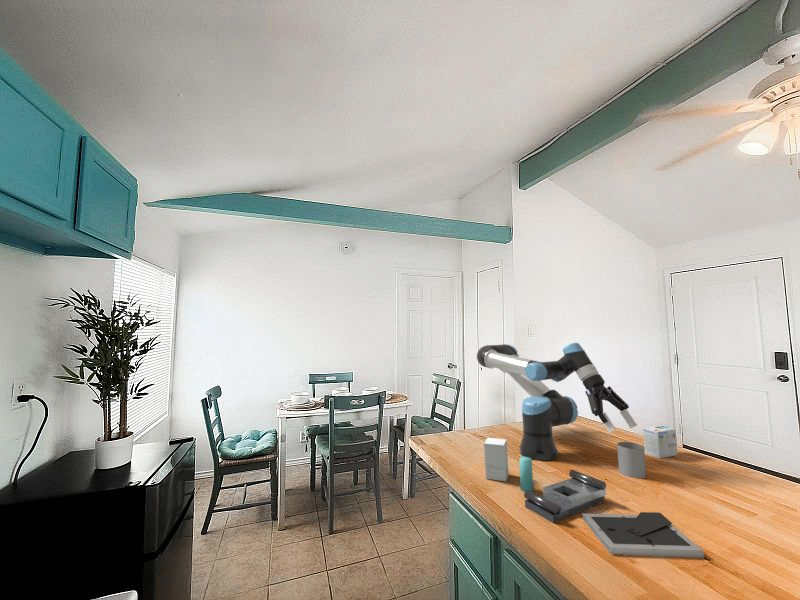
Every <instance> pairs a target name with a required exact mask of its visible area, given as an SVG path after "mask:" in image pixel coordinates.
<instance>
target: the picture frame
mask: <svg viewBox="0 0 800 600" xmlns="http://www.w3.org/2000/svg"><path fill="white" fill-rule="evenodd" d="M581 516H582V520H583V521H584V523H585V524H586V526H587V527H589V529H590V530H591V532H592V533H593V534H594V535H595V537H596V538H597V539H598V541H599V542H600V544H602V545H603V547H604V548H605V549H606V550H607V552H608V551H609V552H608V553H609V554H610V555H611V554H624V555H623V556H637V555H646V556H645V557H666V558H667V557H668V558H669V557H670V558H671V557H672V558H673V557H674V558H699V559H700V558H703V559H705V552H704V551H705V550H704V549H703V548H701V547H700V546H699V545H698V544H696V543H695V542H694V541H693V540H691V539H690V538H689V537H687V535H685V534H684V533H682V532H681V531H680V530H679V529H678V528H677V527H675V526H674V525H673V522H672V521H671V520H670V519H668V518H667V517H666V516H665V515H664V514H662V513H661V512H658V511H657V512H652V511H651V512H650V511H649V512H647V511H644V512H643V511H641V512H639V514H622V513H621V514H620V513H619V514H617V513H616V514H614V513H612V514H611V513H582V515H581Z"/></svg>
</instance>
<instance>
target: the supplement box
mask: <svg viewBox="0 0 800 600" xmlns="http://www.w3.org/2000/svg"><path fill="white" fill-rule="evenodd" d="M507 441H508V439H503V438H496V437H487V438H486V440H485V441H484V443H483V449H484V451H483V452H484V453H483V454H484V472H485V479H486V480H491V481H493V480H494V481H499V482H507V479H508V477H509V460H508V442H507Z"/></svg>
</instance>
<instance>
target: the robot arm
mask: <svg viewBox="0 0 800 600" xmlns="http://www.w3.org/2000/svg"><path fill="white" fill-rule="evenodd" d="M562 352H563V355H562V356H561V357H560V358H559V359H558V360H553V361H551V360H550V361H537V360H533V359H528V358H525V357H524V358H523V357H520V355H519V354H518V350H517V348H515V347H514V346H513V345H511V344H504V343H503V344H491V345H490V344H489V345H488V344H487V345H484V346H481V347H480V348H479V349H478V350H477V353H476V360H477V362H478V364H479V365H480V366H482V367H483V368H486V369H494V368H495V369H498V370H500V371H501V372H502V373H507V374H508V375H509V376H510V377H511V378H512V379H513V380H514V381H515V382H516V383H517V384H518V385H519V386H520V387H521V388H522V389H523V390H524V391H525V392H526V393H527V394H528V395H529V397H526V398H525V399H523V401H522V403H521V404H522V405H521V412H522V414H521V415H522V431H523V432H522V433H523V435H522V439H521V443H520V445H519V454H521V456H522V457H529V458H531V459H532V460H535V461H553V460H556V459H558V458H559V451H558V448H557V446H556V443H555V439H554V438H553V428H554V427H559V426H565V425H570V424H572V423H574V422H575V421H576V420H577V418H578V415H579V411H578V405H577V403H576V401H575V400H574V399H573V398H571V397H570V396H567V395H564V396H563V395H562V394H561V393H559V391H557V390H555V389H550V388H549V387H548V386H547V385H546V384H545V383H544V382H542V381H546V380H552V381H553V382H556V383H558V382H559V383H560V382H561V381H564V380H566V379H567V378H568V377H569V376H570V375H571V374H573V373H576V375H577V377H578V379H579V380H580V381H581V382H582V385H583V386H584V387H585V389H586V390H585V391H584V392H585V394H586V396H587V400H588V404H589V406H590V407H589V408H590V410H591V411H590V412H591V414H593V415H594V416H595V417H599V419H600V421H601V423H602V424H603V425H604V427H605V428H606V430H607V432H608V433H609V434H610V433H612V432H614V431H616V430H617V429H616V426H615V425H614V424H613V422H612V420H611V419H610V417H609V416H608V414H607V412H604V404H603V401H605V402H606V401H607V402H609V403H610V404H611V405H613V406H614V407H615V408H616V409H618V410H619V411H620V412H619V413H620V415H621V417H622V418H623V419H624V420H625V422H626V424H627V425H628V427H629V428H630V429H632V428H635V427H637V426H638V424H637V423H636V421H635V419H634V418H633V416H632V415H631V413H630V412H629V411H628V409H629V407H630V405H629V404H628V403H627V402H626V401H624V400H623V398H622V397H620V396H619V395H618V394H617V392H616V391H614V390H613V388H612V387H611V386H607V387H606V386H605V384H606V383H605V379H604V378H603V376H602V375H601V374H599V371H598V370H597V368H596V366H595V365H594V364H593V362H592V360H591V359H590V357H589V356H588V354H587V352H586V351H585V349H584V348H583V347H582V346H581V344H580V343H578V342H572V343H569V344H567V345H565V346H564V347H563V348H562Z"/></svg>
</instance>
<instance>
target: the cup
mask: <svg viewBox="0 0 800 600" xmlns="http://www.w3.org/2000/svg"><path fill="white" fill-rule="evenodd" d="M616 448H617V461H618V463H617V464H618V472H619V474H621V475H622V476H625V477H628V478H632V479H644V478H646V477H647V469H646V468H647V467H646V455H645V446H643V444H640V443H637V442H632V441H630V442H629V441H619V442H617V444H616Z"/></svg>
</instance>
